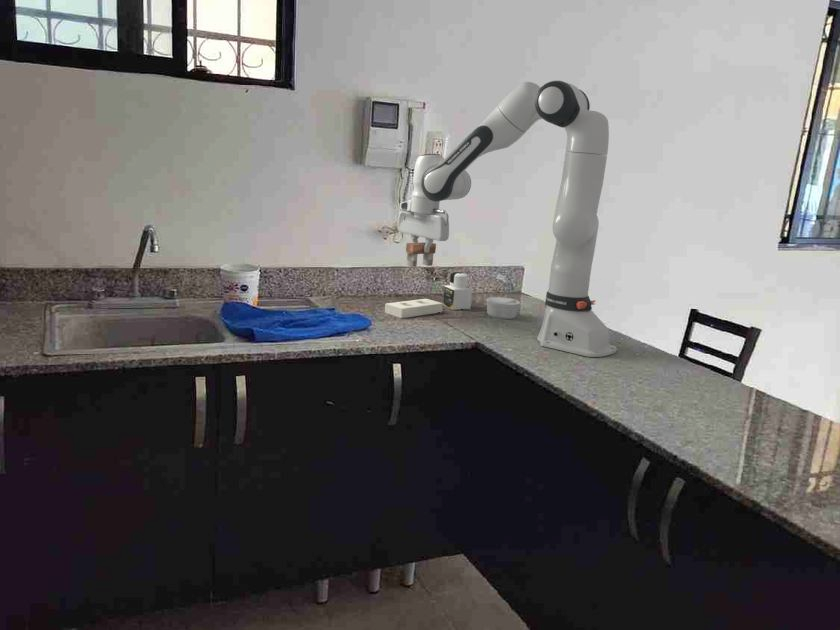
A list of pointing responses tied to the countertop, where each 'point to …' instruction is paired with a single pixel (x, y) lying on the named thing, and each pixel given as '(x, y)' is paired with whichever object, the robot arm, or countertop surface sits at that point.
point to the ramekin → (502, 307)
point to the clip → (416, 249)
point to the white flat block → (413, 308)
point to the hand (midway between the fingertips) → (420, 251)
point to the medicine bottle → (457, 292)
